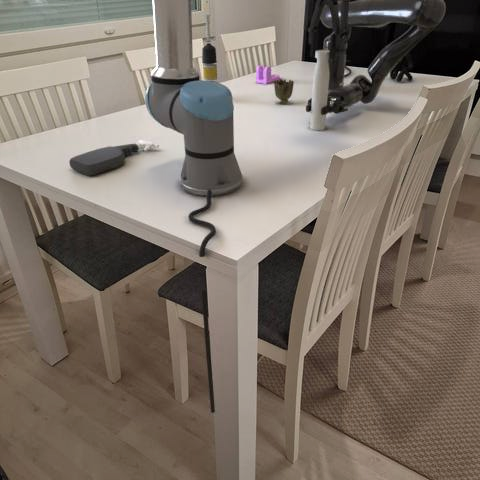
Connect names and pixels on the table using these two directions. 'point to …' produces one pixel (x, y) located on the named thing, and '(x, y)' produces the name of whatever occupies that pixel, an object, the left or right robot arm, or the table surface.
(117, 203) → the table surface
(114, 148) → the spray bottle
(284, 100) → the cup
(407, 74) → the squiggle
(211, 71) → the yellow black flask
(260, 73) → the bracket
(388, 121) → the table surface
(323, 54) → the cap
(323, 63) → the bottle
